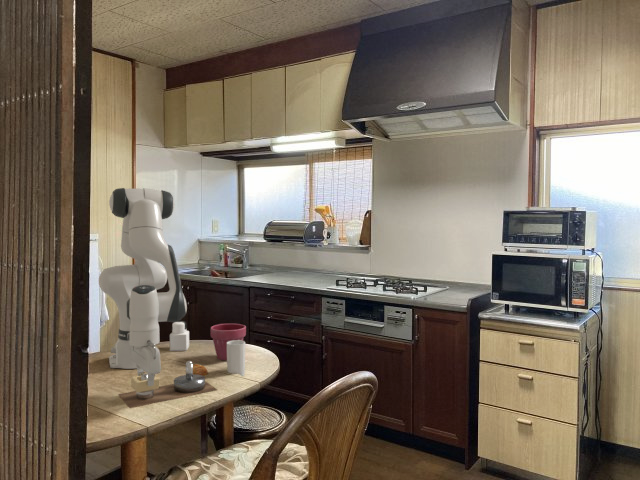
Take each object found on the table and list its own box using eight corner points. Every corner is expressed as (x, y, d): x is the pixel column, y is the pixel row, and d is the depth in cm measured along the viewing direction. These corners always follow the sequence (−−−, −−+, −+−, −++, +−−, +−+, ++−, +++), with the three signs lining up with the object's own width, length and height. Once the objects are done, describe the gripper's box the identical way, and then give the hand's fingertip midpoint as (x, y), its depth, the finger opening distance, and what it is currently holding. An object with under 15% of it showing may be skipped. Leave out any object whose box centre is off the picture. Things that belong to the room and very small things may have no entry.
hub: (169, 386, 173) (169, 359, 172) (198, 381, 179) (198, 355, 178) (180, 395, 165) (179, 367, 164) (209, 389, 170) (209, 362, 170)
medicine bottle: (172, 346, 229) (172, 319, 228) (189, 346, 229) (189, 319, 229) (169, 351, 222) (169, 323, 221) (186, 350, 222) (186, 323, 222)
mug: (242, 378, 186) (241, 345, 186) (224, 377, 188) (223, 344, 187) (250, 369, 196) (250, 338, 196) (233, 368, 198) (233, 337, 197)
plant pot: (232, 350, 223) (232, 321, 222) (253, 357, 213) (252, 326, 212) (203, 357, 212) (203, 326, 212) (224, 364, 203) (223, 332, 202)
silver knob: (134, 396, 164) (134, 374, 164) (150, 392, 167) (150, 371, 167) (139, 401, 160) (138, 378, 159) (155, 397, 163) (155, 375, 162)
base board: (118, 398, 165) (118, 394, 165) (201, 382, 181) (201, 378, 181) (129, 413, 154) (129, 408, 154) (217, 394, 170) (217, 389, 170)
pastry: (212, 379, 186) (212, 368, 186) (194, 382, 182) (194, 371, 182) (202, 372, 194) (202, 362, 194) (185, 375, 190) (185, 365, 190)
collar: (131, 386, 164) (131, 377, 164) (152, 382, 168) (152, 373, 168) (137, 392, 159) (137, 382, 158) (158, 388, 162) (158, 379, 162)
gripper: (165, 343, 156) (166, 388, 156) (145, 330, 172) (146, 371, 173) (144, 346, 152) (145, 392, 153) (125, 333, 169) (126, 375, 169)
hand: (145, 381), depth 163 cm, fingers open, 8 cm apart
